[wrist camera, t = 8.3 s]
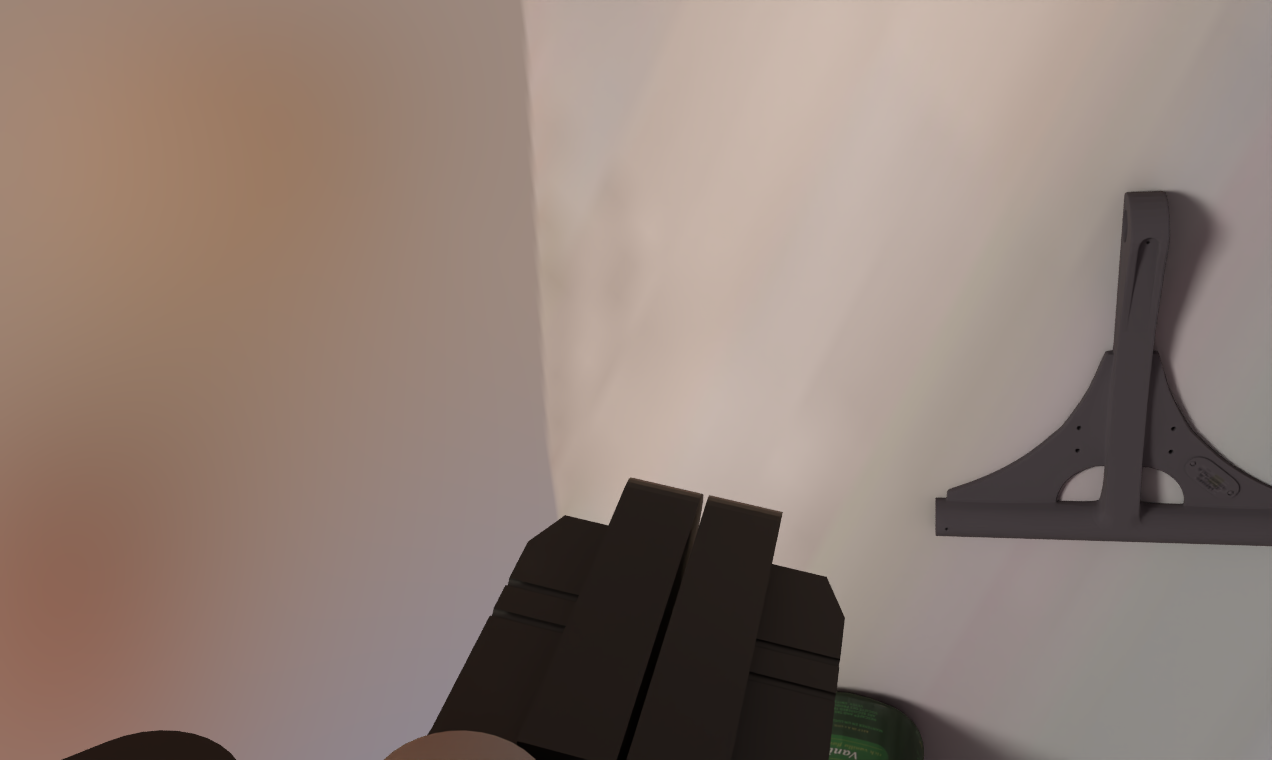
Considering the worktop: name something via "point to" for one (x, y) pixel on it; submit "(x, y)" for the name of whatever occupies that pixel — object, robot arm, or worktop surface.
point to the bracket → (1120, 439)
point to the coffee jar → (872, 731)
